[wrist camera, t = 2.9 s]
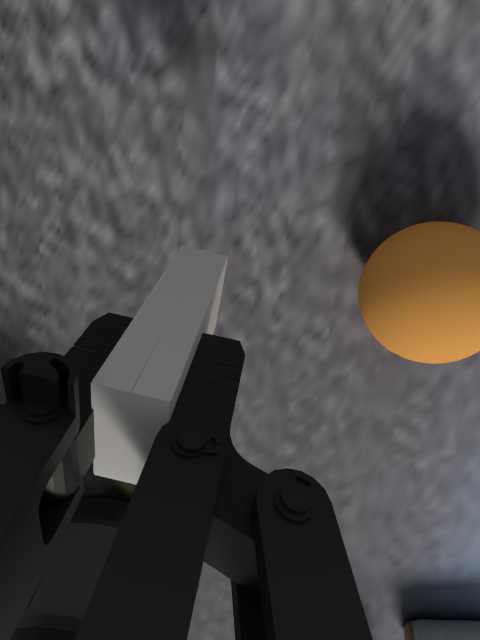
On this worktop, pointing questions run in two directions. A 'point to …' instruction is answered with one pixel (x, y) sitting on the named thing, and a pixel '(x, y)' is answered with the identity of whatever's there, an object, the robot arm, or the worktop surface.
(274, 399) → the worktop surface
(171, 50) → the worktop surface
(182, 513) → the robot arm
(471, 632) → the ceramic mug
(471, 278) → the ball
